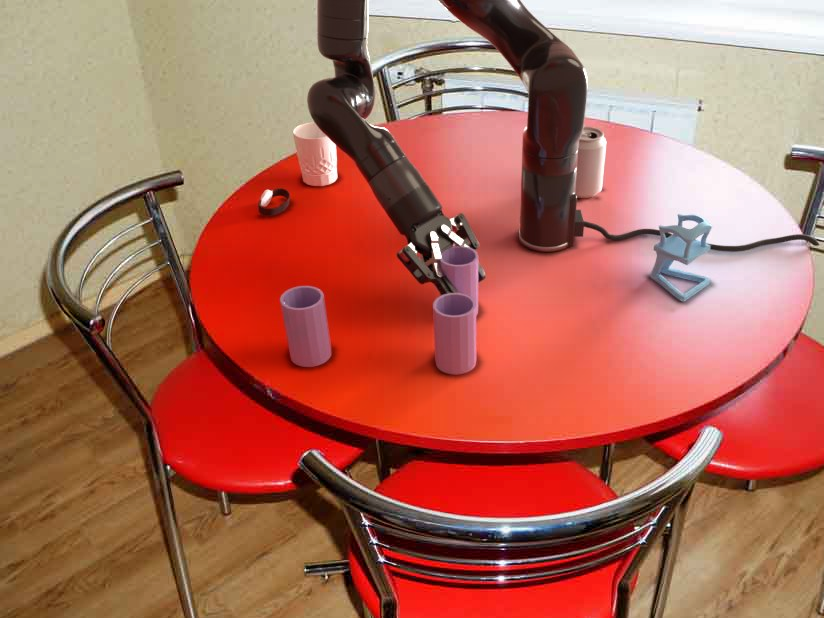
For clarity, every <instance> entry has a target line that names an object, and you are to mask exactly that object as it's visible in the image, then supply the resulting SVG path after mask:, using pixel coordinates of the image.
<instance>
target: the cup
mask: <svg viewBox="0 0 824 618" xmlns="http://www.w3.org/2000/svg"><path fill="white" fill-rule="evenodd" d="M432 315H433V316H432V318H433V319H432V320H433V340H434V360H435V366H436V367H437V369H438V370H439V371H441V372H442V373H445V374H448V375H454V376H456V375H463V374H466V373H469V372H470V371H472V370H473V369H475V367H476V366H477V316H476V302H475V300H474V299H473V298H472V297H470V296H468V295H466V294H462V293H448V294H444V295H441V296H440V295H439V296H438V297H436V298H435V300H434V301H433V302H432Z"/></svg>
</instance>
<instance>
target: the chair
mask: <svg viewBox="0 0 824 618" xmlns="http://www.w3.org/2000/svg"><path fill="white" fill-rule="evenodd" d="M677 220H678V221H677V224H674V225H673V224H672V225H661V224H660V225H658V230H660V235H661V236H660V240H659V242H657V243H655V244H654V245H653V251H654V252H655V254H656V259H655V262H654V265H653V267H652V270H651V272H650V275H649V276H650V278H651V279H652V280H653V281H654V282H656V283H658V284H659V286H662V287H663V288H664V289H665V290H666V291H667V292H668V293H670V294H671V295H672V296H673V297H674V298H676V299H677V300H678V301H680V302H682V303H684V302H686V301H688V300H689V299H690V298H692V297H693V296H695V295H696V294H698V293H699V292H700V291H702V290H703V289H704V288H706V287H707V286H709V285H710V282H711V278H709V277H707V276H704V275H701V274H697V273H693V272H688V271H684V270H681V269H676V268H672V267H671V265H672V264H673V263H674V262H675V261H676V262H679V263H681V264H683V265H684V266H685V265H686V266H688V265H690V264H692V262H694V261H695V260H696V259H698V258H699V257H701V256H702V255H706V254H707V253H708V252H710V251H711V250H710V247H711V245H708V244H709V243H708V242H707V238H708V236H709V235H710V232H711V231H712V229H713V226H712V225H711V223H709V222H708V220H706V218H704V217H702V216H701V215H699V214H682V213H681V214H680V213H678V214H677ZM685 221H686V222H687V221H689V222H690V221H691V222H695V223H697V224H696V225H695V226H694V227H692V228H686V227H684V226H683V222H685ZM664 233H671V234H672V235H671V236H669V237H668V238H666V237H665V234H664ZM700 236H701V239H700V240H697V239H698V238H699V237H700ZM707 243H708V244H707ZM662 274H663V275H662ZM664 275H667V276H672V277H675V278H680V279H684V280H688V281H689V280H690V281H694V282H698V284H697V285H695V286H694V287H692V288H691V289H689V290H687V292H685V293H682V292H681V291H680V290H679V289H678V288H677V287H676V286H674V285H673V284H672V283H671V282H670V281H669V280H668V279H666V278H665V277H664Z"/></svg>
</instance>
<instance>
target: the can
mask: <svg viewBox="0 0 824 618" xmlns="http://www.w3.org/2000/svg"><path fill="white" fill-rule="evenodd" d="M604 135H605V133H604V131H603V130H601V129H600V128H598V127H594V126H587V125H584V129H583V133H582V136H581V138H580V140H579V148H578V161H577V174H576V188H575V192H576V195H577V199H589V198H593V197H596V195H598V194H599V193H601V191H602V190H603V184H604V183H603V181H604V172H605V171H604V170H605V163H606V152H607V140H606V137H604Z"/></svg>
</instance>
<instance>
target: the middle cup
mask: <svg viewBox="0 0 824 618" xmlns="http://www.w3.org/2000/svg"><path fill="white" fill-rule="evenodd" d="M441 257H442V260H440V264H441V267H442V269H443V277H444V276H445V275H446V277H447V278H448V279H449V281H450V282H451V284H452V285H453V287H454V288H455V290H456V291H457V293H462V294H466V295H468V296H470V297H472V298H473V299H474V300H475V302H476V317H477V316H478V314H479V283H478V262H479V253H478V252H477V250H476V251H475V250H474V249H472V248H470V247H466V246H462V247H461V246H453V247H451V248H450V249H446V250H445V251H444V252H443V253H442V254H441ZM440 296H441V294H440V293H439V297H440Z"/></svg>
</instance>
